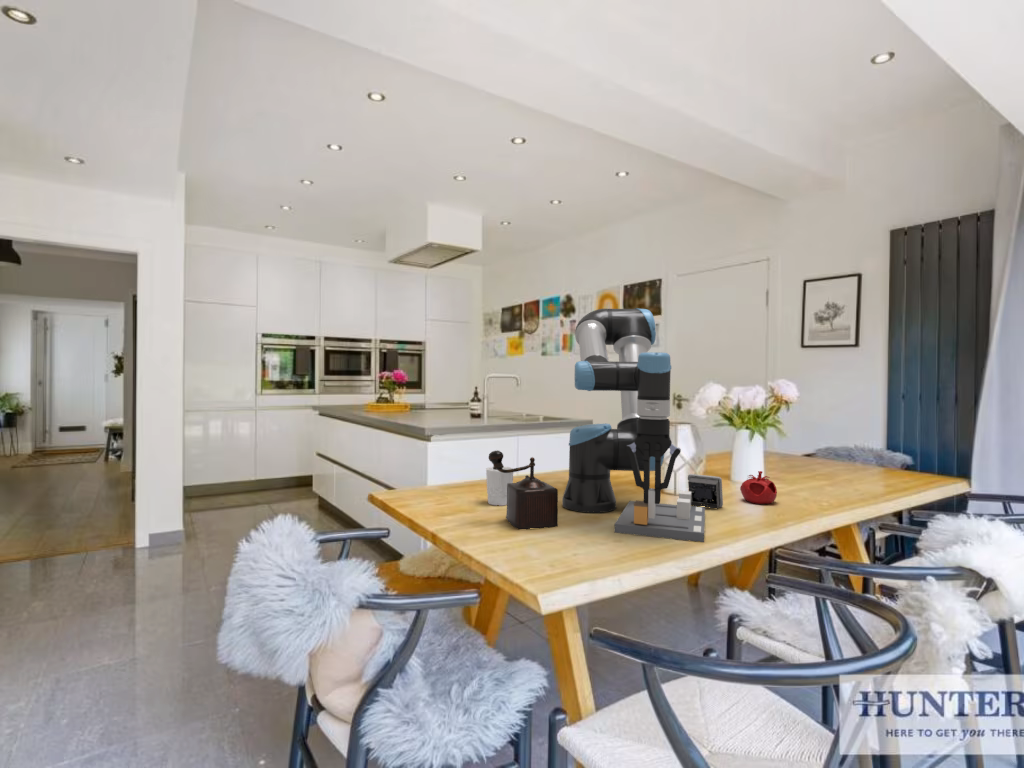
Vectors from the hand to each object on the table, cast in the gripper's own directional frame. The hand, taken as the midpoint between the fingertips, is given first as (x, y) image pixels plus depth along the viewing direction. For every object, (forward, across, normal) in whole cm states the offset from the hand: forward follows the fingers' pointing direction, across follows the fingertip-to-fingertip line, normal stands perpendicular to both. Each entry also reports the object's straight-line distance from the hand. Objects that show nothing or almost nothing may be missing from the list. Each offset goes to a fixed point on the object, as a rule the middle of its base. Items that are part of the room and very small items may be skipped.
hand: (651, 516), depth 128 cm
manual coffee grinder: (+4, -31, -4) cm, 32 cm away
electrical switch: (+4, +12, +32) cm, 35 cm away
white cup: (+4, -44, +14) cm, 46 cm away
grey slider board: (+4, +2, +10) cm, 11 cm away
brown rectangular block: (+1, -2, 0) cm, 3 cm away
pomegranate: (+4, +27, +45) cm, 53 cm away
